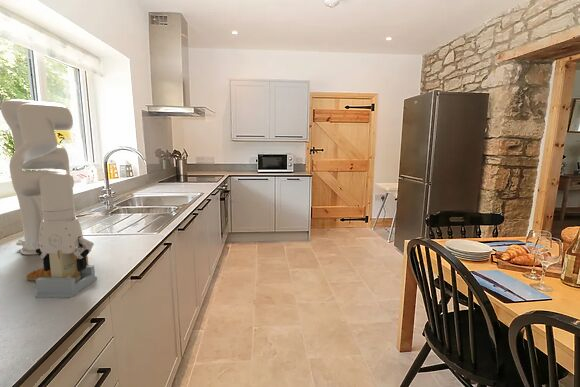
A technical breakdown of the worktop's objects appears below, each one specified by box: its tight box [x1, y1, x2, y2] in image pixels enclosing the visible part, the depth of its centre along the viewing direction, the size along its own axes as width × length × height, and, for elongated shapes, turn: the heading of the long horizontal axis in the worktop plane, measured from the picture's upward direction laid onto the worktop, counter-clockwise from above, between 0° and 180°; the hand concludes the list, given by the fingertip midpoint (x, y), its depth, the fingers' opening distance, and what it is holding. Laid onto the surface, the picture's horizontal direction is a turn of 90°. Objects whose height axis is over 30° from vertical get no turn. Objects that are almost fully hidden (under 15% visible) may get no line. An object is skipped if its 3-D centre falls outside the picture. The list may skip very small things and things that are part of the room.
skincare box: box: [49, 250, 81, 283], centre depth 91 cm, size 6×4×12 cm
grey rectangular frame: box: [34, 264, 98, 299], centre depth 91 cm, size 10×12×5 cm
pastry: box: [25, 267, 51, 282], centre depth 98 cm, size 9×7×4 cm
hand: (65, 269), depth 91 cm, fingers open, 9 cm apart
